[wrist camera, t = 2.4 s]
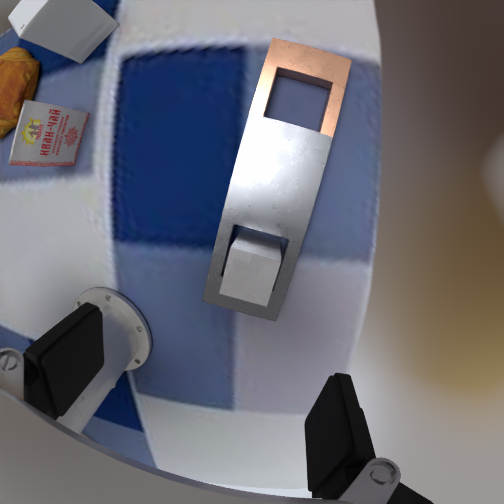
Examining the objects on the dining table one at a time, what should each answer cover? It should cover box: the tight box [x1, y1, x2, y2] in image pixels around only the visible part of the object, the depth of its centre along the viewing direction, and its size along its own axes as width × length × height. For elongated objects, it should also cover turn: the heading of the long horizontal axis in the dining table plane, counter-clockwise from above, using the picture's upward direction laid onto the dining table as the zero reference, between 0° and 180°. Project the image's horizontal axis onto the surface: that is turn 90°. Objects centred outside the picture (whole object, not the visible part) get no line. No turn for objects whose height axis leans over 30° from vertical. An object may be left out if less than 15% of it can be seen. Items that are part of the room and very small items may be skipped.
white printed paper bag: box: [9, 100, 90, 167], centre depth 23 cm, size 4×7×10 cm, turn 159°
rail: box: [202, 38, 351, 321], centre depth 27 cm, size 28×8×2 cm, turn 165°
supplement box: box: [8, 0, 119, 64], centre depth 18 cm, size 7×7×13 cm
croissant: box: [0, 47, 39, 138], centre depth 24 cm, size 14×16×8 cm
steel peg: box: [219, 229, 281, 307], centre depth 26 cm, size 4×4×8 cm
